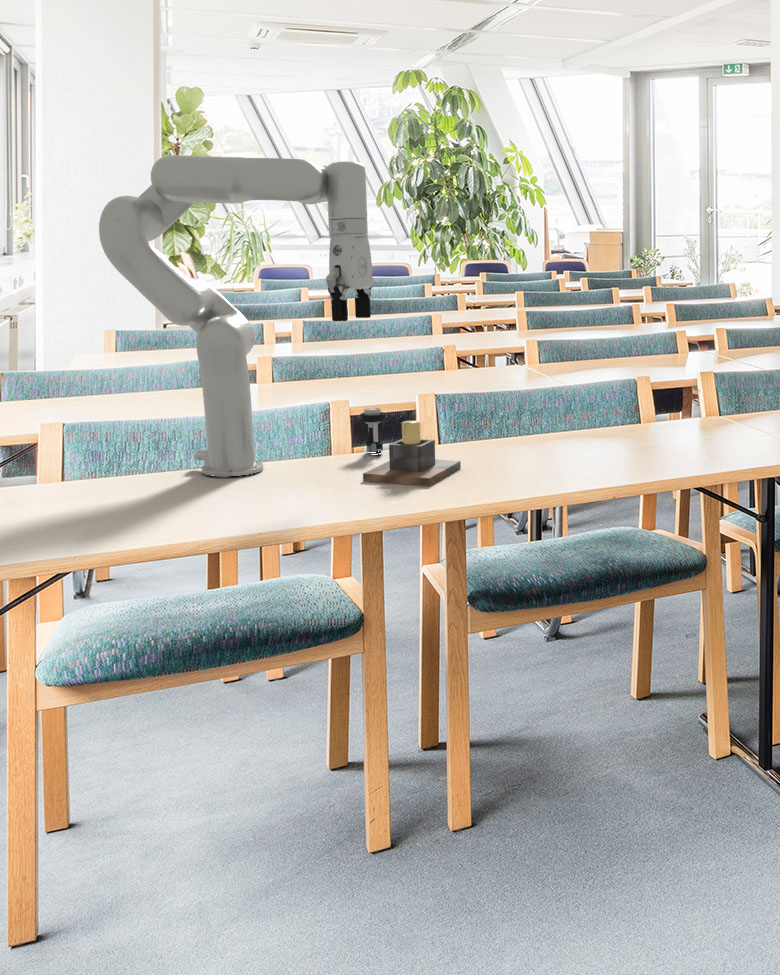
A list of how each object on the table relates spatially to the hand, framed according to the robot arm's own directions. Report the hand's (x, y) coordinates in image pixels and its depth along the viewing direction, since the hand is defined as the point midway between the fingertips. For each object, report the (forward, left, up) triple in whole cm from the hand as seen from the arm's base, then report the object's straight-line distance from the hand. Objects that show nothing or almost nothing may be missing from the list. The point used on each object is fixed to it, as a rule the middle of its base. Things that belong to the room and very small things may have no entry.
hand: (351, 319), depth 184 cm
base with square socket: (+13, -1, -30) cm, 33 cm away
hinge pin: (+13, -2, -29) cm, 32 cm away
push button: (-3, +14, -31) cm, 34 cm away
